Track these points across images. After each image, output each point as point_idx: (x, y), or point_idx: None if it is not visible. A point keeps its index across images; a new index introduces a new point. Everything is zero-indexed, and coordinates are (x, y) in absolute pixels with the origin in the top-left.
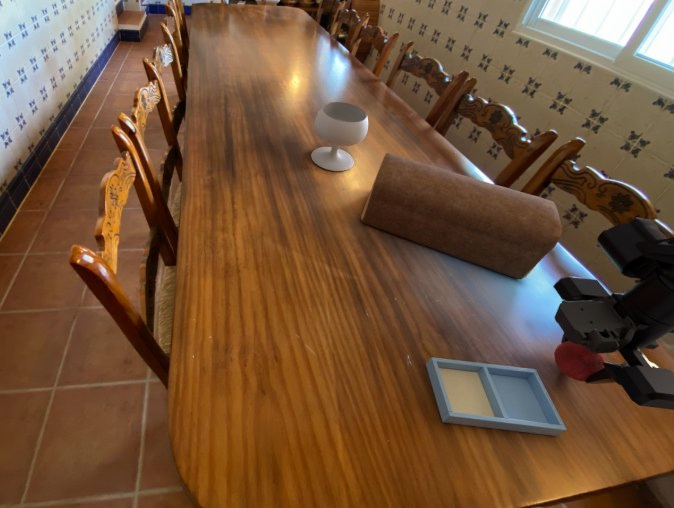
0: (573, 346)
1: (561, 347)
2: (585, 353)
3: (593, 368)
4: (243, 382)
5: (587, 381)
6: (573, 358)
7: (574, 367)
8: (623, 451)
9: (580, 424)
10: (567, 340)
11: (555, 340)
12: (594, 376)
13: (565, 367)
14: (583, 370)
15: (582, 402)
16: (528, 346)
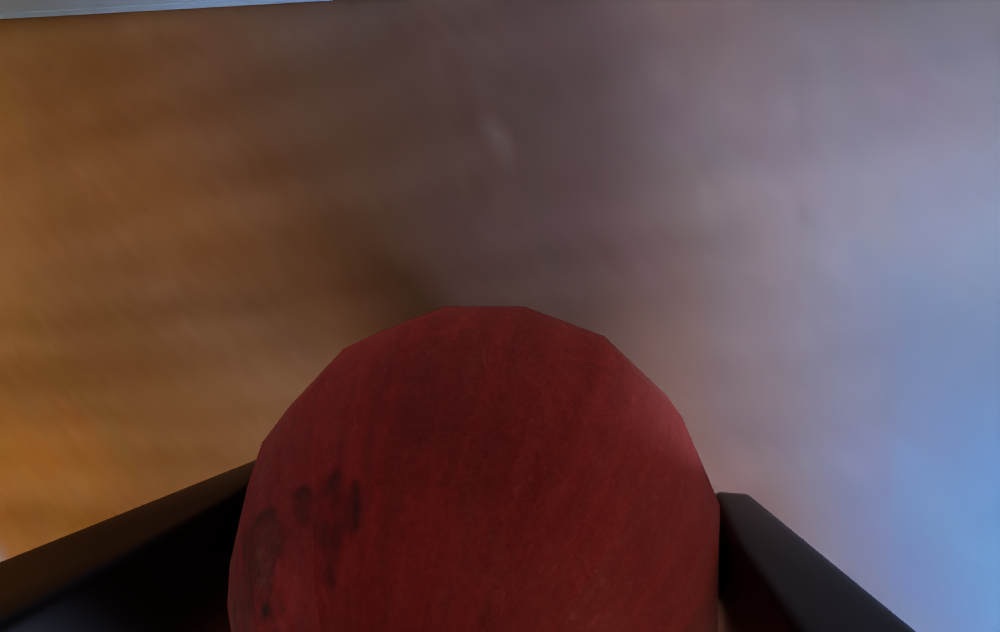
0: (524, 537)
1: (591, 395)
2: (342, 629)
3: (230, 595)
4: None
5: (242, 467)
6: (363, 428)
7: (310, 395)
8: (37, 458)
9: (114, 280)
10: (733, 562)
11: (836, 519)
12: (128, 533)
13: (383, 333)
14: (254, 470)
15: (284, 398)
16: (761, 199)
